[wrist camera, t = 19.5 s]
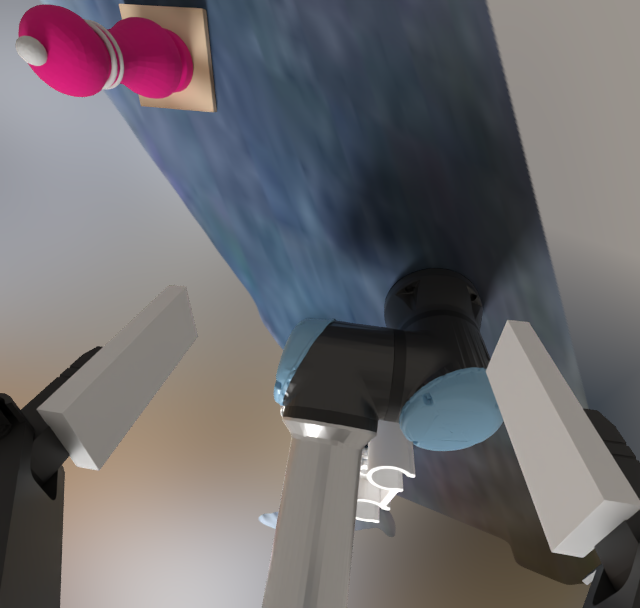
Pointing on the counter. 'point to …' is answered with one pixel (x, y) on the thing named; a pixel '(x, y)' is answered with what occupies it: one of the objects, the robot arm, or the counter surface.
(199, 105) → the cork mat
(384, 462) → the bracket
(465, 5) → the counter surface
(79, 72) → the pepper mill
